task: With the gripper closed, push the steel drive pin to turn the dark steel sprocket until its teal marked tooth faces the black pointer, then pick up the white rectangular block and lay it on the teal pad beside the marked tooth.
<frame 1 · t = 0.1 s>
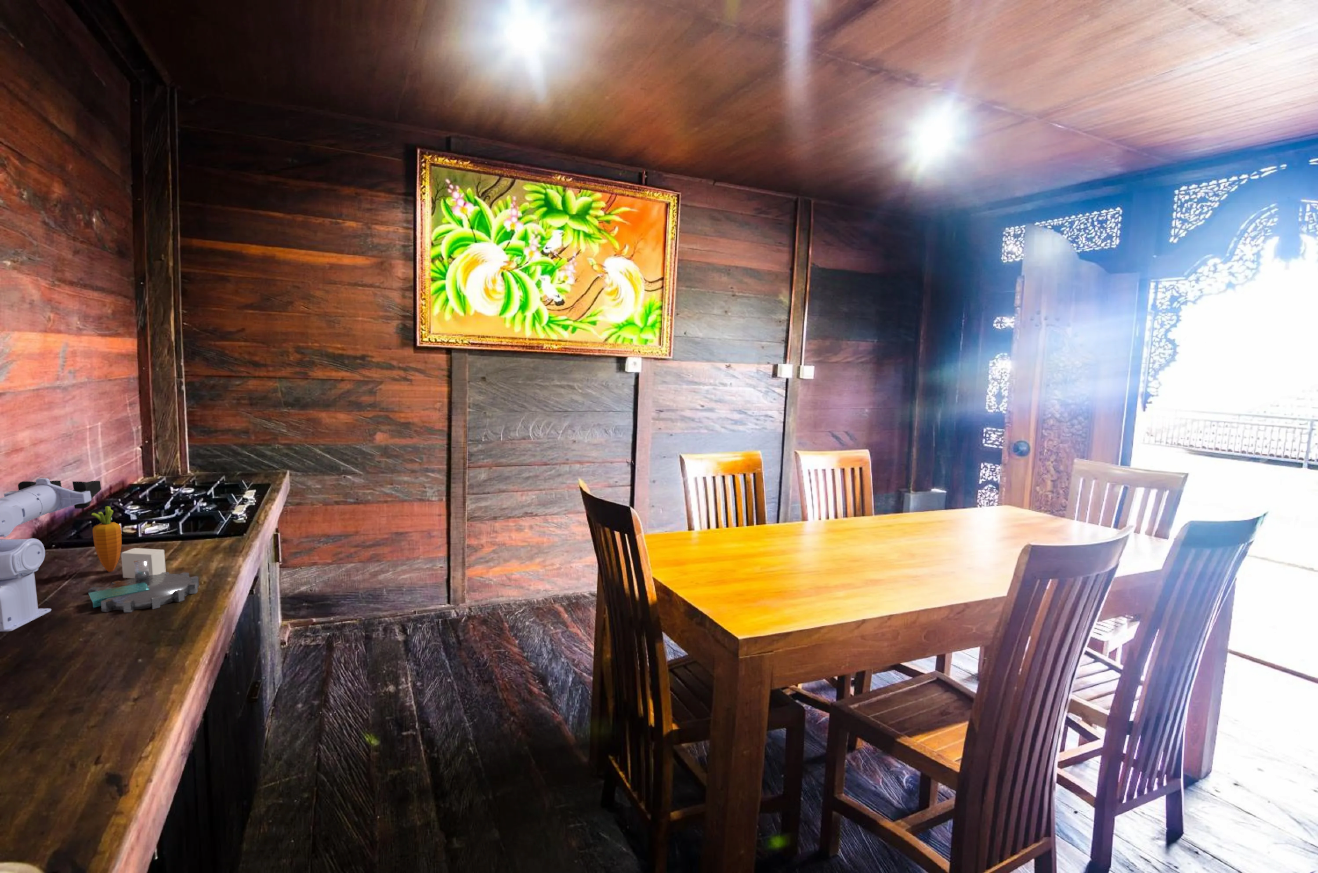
hand: (79, 485, 141), 22 cm above the worktop, tool horizontal, fingers open, 7 cm apart
white rectangular block: (144, 577, 149), on the worktop
carrot: (110, 573, 151), on the worktop
timing pointer: (98, 594, 139), on the worktop
sprocket: (146, 581, 138), point 3 cm above the worktop, hinge at 0.0°
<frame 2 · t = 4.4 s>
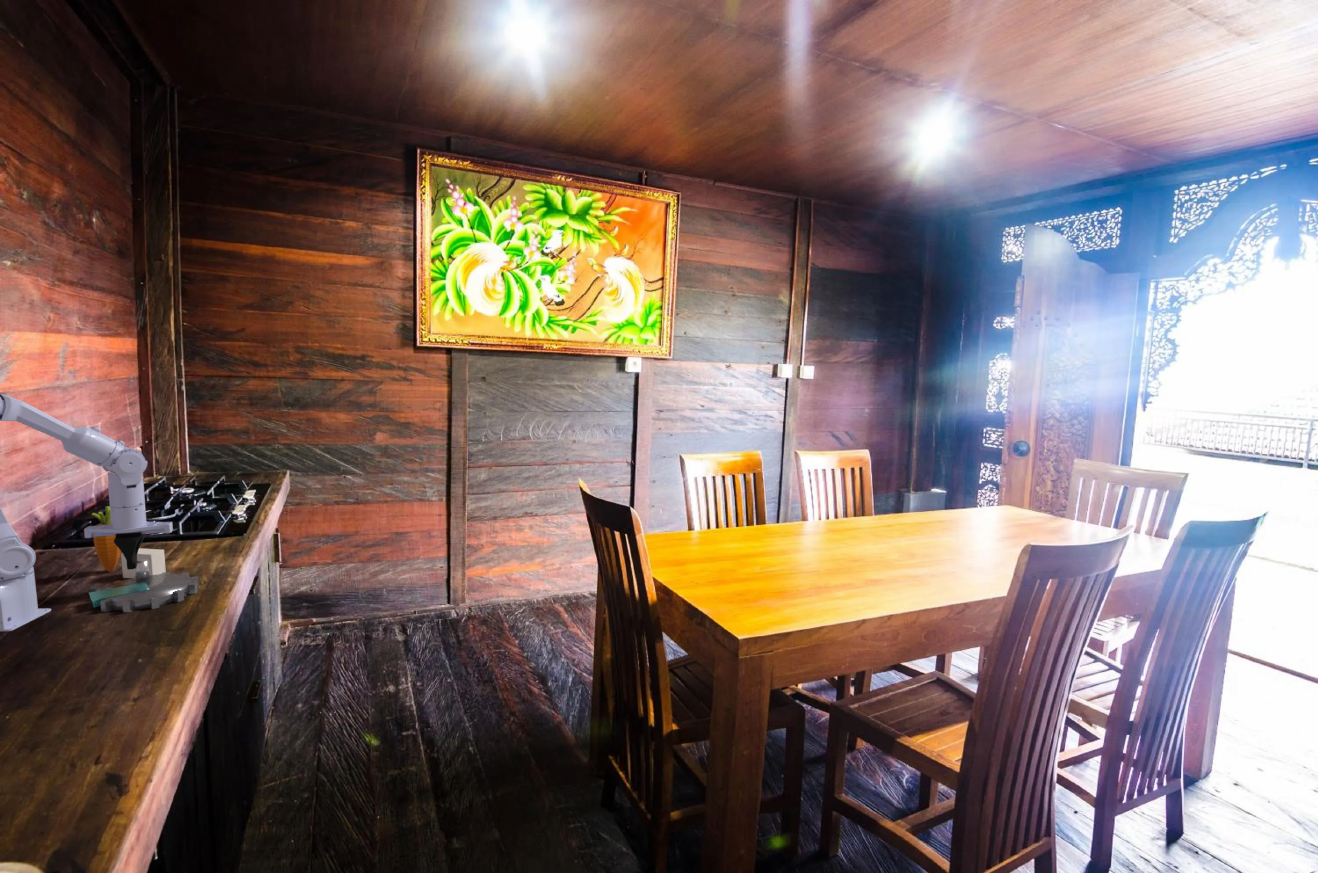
hand: (132, 567, 141), 5 cm above the worktop, tool pointing down, fingers closed, pressing on sprocket
sprocket: (146, 581, 138), point 3 cm above the worktop, hinge at -0.7°, touching gripper
everything else where it was.
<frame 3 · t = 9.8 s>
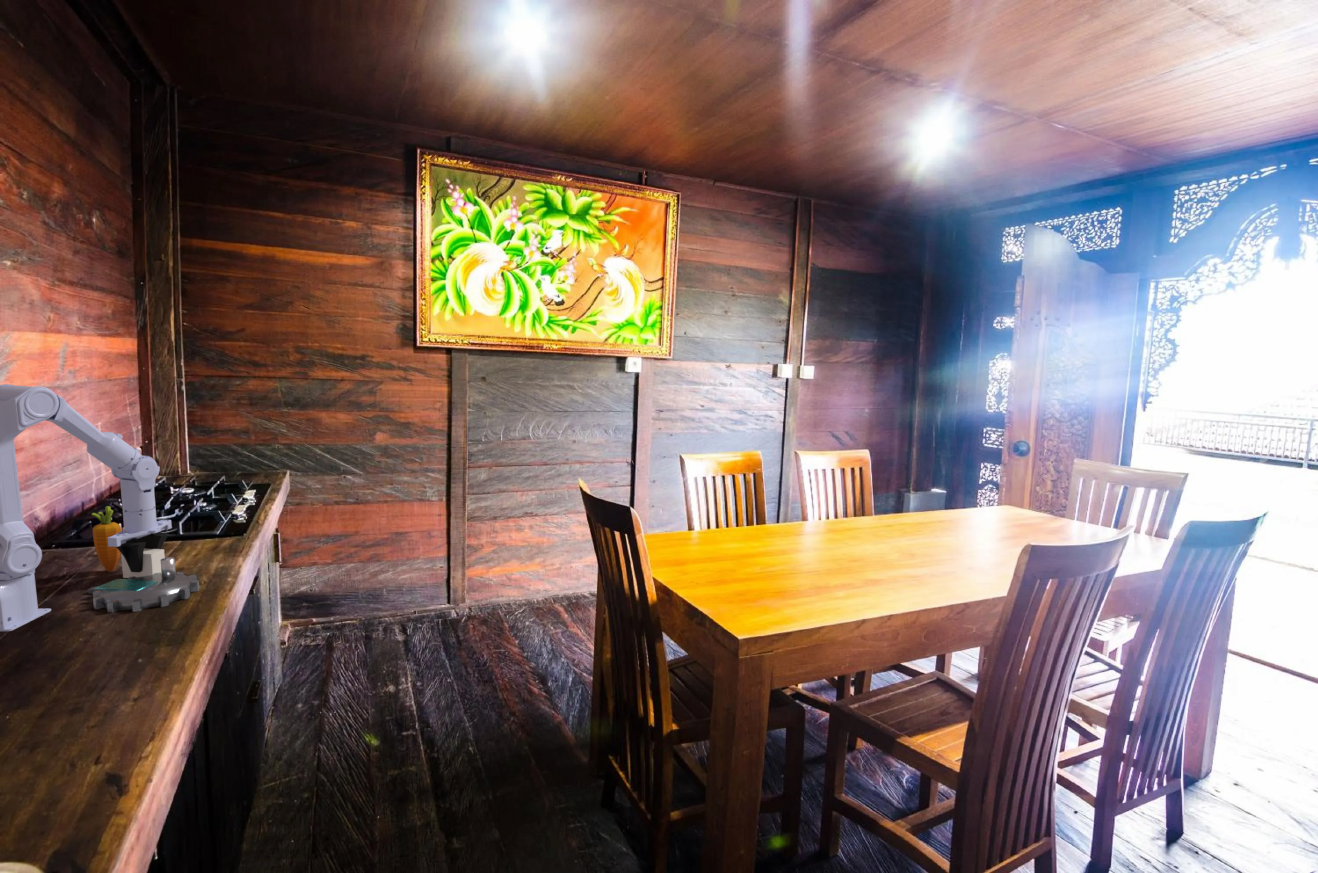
hand: (144, 568, 149), 2 cm above the worktop, tool pointing down, fingers closed on white rectangular block, 3 cm apart
white rectangular block: (144, 577, 149), on the worktop, touching gripper
sprocket: (146, 581, 138), point 3 cm above the worktop, hinge at -50.4°
everything else where it was.
when the fingers open (6 cm above the worktop, at t = 13.8 s): white rectangular block drops 2 cm, resting on sprocket.
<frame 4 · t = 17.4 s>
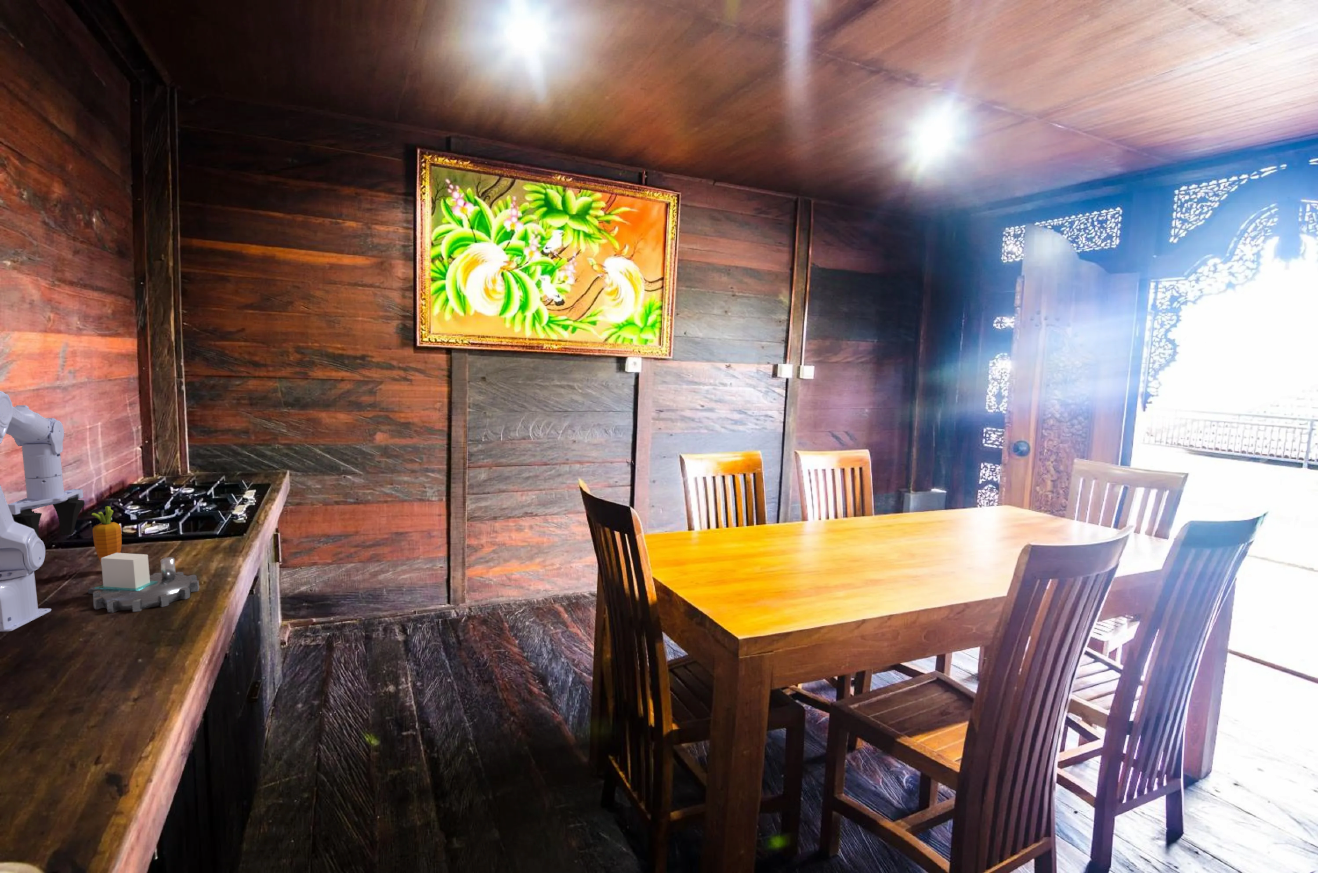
hand: (50, 539, 140), 10 cm above the worktop, tool pointing down, fingers open, 7 cm apart
white rectangular block: (126, 584, 138), point 2 cm above the worktop, touching sprocket
sprocket: (146, 581, 138), point 3 cm above the worktop, hinge at -50.4°, touching white rectangular block
everything else where it was.
at the end: sprocket at -50° (first picture: +0°); white rectangular block 0.0 cm from the target spot on the sprocket, point 2.1 cm above the sprocket's base; white rectangular block tilted 0° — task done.
